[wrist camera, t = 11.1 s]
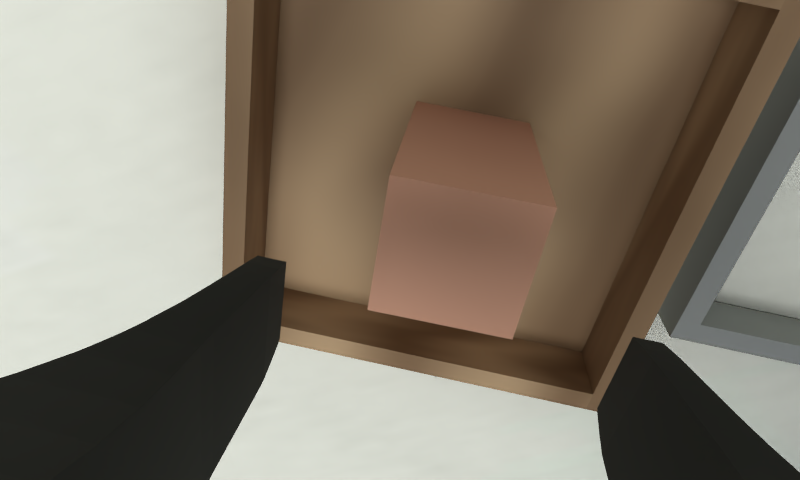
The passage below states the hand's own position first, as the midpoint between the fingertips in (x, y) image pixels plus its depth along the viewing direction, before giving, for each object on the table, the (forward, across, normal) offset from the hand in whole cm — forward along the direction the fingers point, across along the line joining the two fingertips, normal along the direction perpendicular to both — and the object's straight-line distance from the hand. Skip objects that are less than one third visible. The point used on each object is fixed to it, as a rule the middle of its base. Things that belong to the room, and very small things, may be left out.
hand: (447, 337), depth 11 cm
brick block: (+10, 0, 0) cm, 10 cm away
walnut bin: (+10, 0, 0) cm, 10 cm away
